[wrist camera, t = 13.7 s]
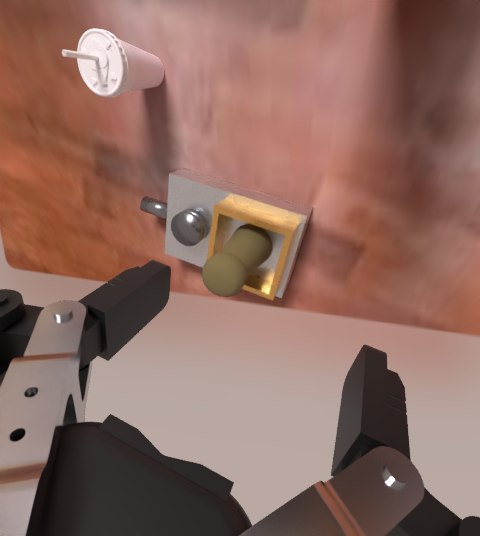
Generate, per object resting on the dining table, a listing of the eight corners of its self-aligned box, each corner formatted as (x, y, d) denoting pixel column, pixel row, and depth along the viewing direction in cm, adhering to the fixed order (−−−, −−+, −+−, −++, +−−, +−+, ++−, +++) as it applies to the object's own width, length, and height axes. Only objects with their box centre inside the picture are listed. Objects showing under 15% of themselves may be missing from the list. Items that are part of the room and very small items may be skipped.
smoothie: (166, 36, 39) (78, 10, 28) (177, 94, 42) (100, 91, 31) (127, 48, 42) (31, 27, 30) (140, 101, 44) (56, 101, 33)
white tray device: (155, 159, 48) (125, 167, 42) (312, 207, 42) (301, 224, 36) (153, 234, 55) (126, 250, 49) (288, 285, 49) (275, 309, 43)
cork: (224, 243, 45) (184, 278, 36) (248, 214, 41) (211, 246, 32) (254, 271, 45) (223, 314, 36) (281, 245, 42) (253, 285, 33)
